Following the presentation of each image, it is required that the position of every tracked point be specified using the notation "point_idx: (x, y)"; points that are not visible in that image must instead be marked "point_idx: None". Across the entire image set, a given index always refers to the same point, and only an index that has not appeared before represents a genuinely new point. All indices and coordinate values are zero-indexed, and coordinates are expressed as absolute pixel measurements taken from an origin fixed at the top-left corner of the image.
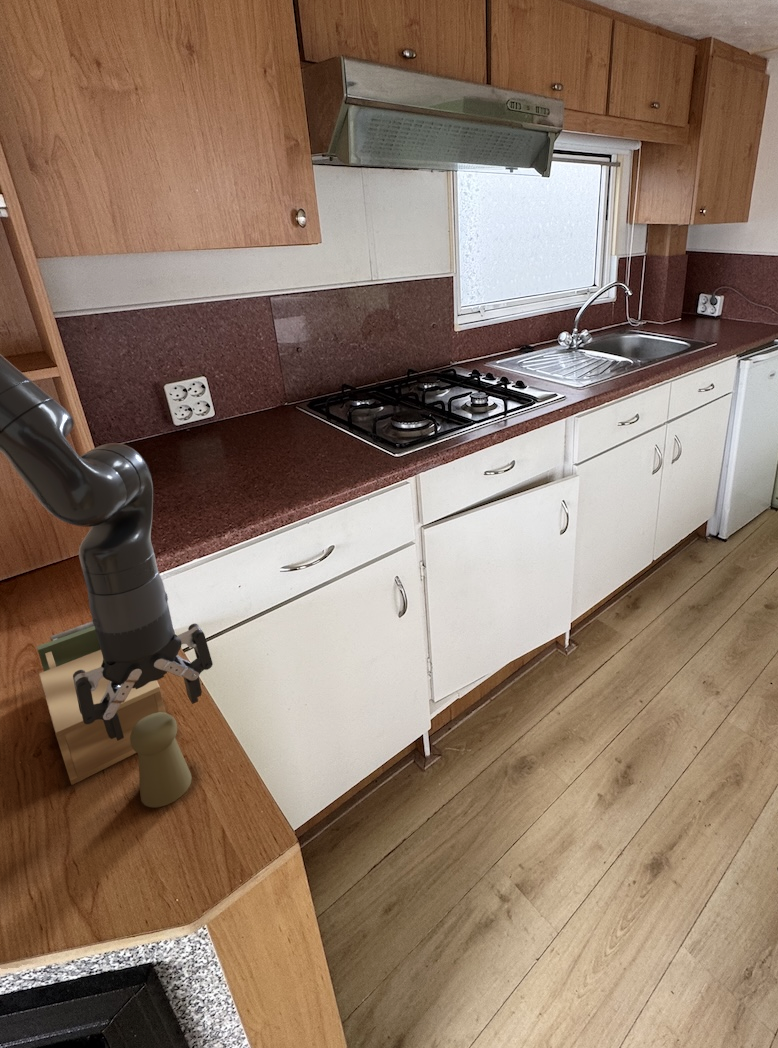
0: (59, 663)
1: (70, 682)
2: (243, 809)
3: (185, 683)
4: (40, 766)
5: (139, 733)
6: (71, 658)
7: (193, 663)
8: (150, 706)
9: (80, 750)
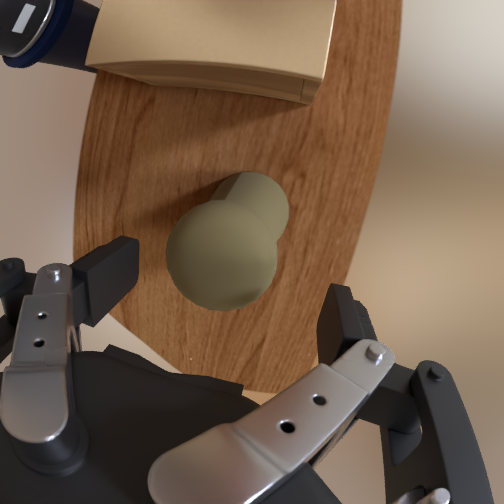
0: None
1: None
2: (297, 336)
3: (334, 324)
4: None
5: (178, 273)
6: None
7: (382, 401)
8: (287, 83)
9: (148, 76)
